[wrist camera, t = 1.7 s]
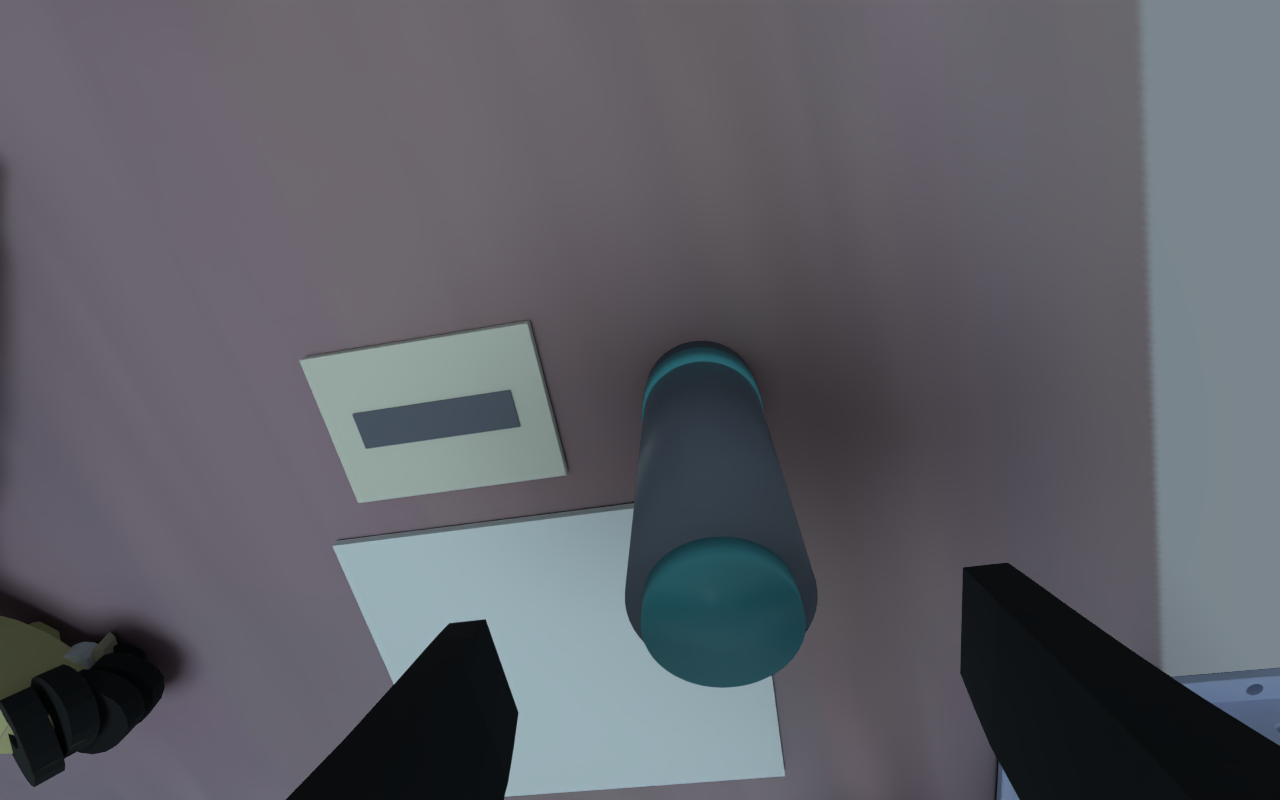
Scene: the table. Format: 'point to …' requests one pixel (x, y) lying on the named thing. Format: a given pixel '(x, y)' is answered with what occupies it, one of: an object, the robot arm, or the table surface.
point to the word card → (439, 412)
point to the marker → (714, 527)
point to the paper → (562, 651)
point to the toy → (68, 696)
